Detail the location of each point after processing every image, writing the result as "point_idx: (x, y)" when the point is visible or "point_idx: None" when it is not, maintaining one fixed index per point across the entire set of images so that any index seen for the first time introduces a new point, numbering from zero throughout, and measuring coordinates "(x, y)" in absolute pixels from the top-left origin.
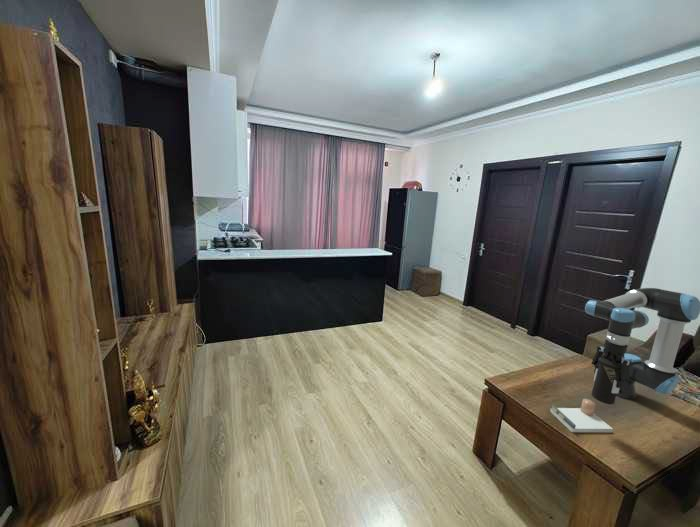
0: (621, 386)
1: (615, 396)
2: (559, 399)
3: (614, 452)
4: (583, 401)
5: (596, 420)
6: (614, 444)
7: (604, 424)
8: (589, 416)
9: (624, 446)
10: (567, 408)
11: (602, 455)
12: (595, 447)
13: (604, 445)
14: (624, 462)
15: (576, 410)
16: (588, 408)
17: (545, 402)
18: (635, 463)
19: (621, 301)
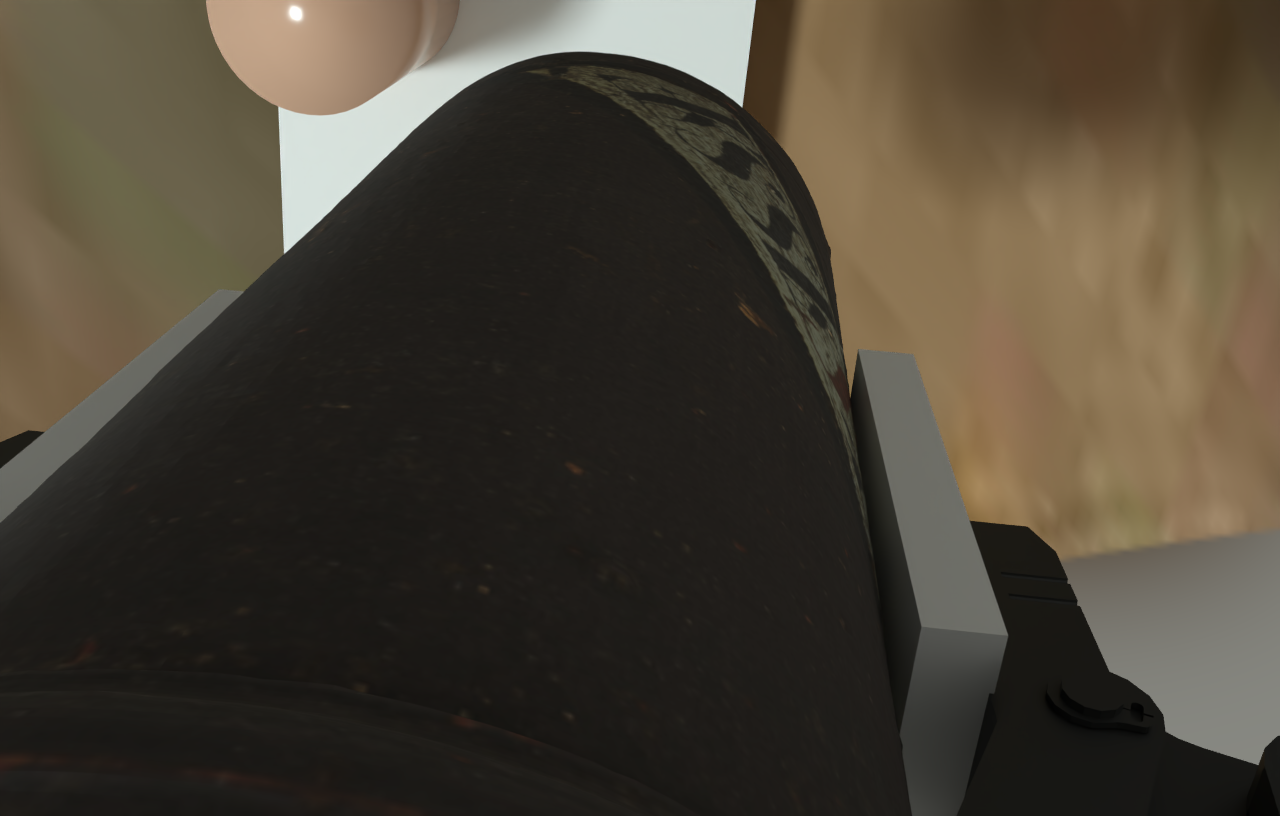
0: (1062, 587)
1: (824, 264)
2: (12, 73)
3: (1067, 281)
4: (288, 106)
5: (569, 12)
6: (964, 133)
7: None
8: (475, 43)
9: (1025, 15)
10: (293, 244)
11: (1062, 475)
12: (948, 442)
13: (947, 296)
14: (1215, 315)
15: (335, 134)
16: (407, 73)
17: (121, 368)
18: (1272, 185)
19: None
